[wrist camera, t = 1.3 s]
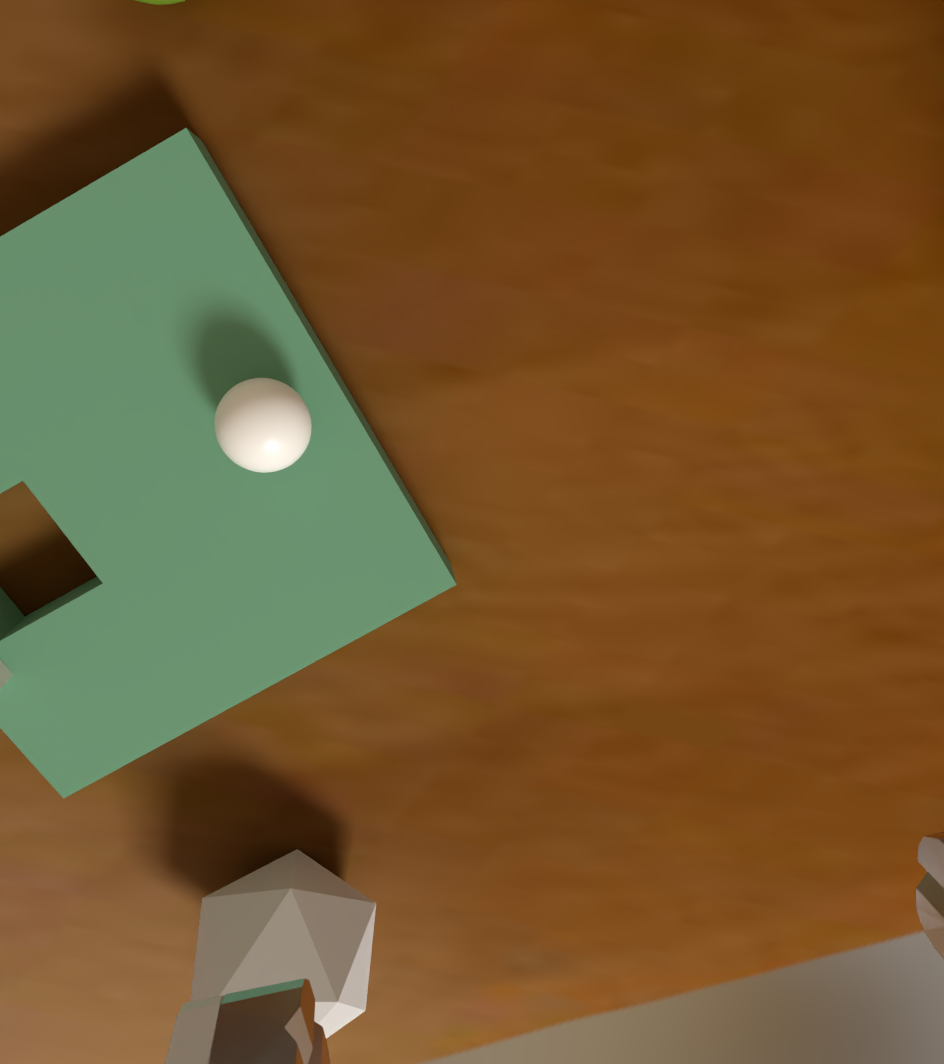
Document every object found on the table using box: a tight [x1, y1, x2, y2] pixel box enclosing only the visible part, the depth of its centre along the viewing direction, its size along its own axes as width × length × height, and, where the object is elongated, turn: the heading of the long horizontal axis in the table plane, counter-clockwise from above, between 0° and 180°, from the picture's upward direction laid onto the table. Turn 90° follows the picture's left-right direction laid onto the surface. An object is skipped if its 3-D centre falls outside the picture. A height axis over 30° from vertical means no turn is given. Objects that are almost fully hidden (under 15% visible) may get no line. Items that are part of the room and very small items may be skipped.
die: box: [190, 849, 376, 1038], centre depth 37 cm, size 8×9×10 cm
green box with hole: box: [0, 128, 457, 798], centre depth 31 cm, size 20×20×6 cm
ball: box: [214, 378, 312, 473], centre depth 29 cm, size 4×4×4 cm
